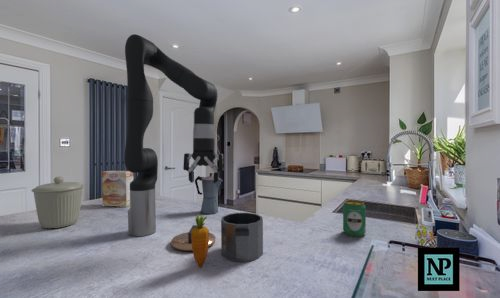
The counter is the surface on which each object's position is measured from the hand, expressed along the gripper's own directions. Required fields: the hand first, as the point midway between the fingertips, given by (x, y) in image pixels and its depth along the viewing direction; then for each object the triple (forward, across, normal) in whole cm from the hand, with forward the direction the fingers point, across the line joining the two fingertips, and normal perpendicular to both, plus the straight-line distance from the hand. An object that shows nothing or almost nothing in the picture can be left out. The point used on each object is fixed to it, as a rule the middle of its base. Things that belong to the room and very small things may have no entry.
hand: (203, 182), depth 91 cm
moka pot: (+22, -8, +37) cm, 43 cm away
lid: (+21, -3, -3) cm, 22 cm away
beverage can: (+20, +56, +12) cm, 61 cm away
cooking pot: (+21, +15, -8) cm, 27 cm away
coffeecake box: (+23, -63, +46) cm, 81 cm away
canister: (+22, -67, +11) cm, 72 cm away
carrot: (+21, +5, -19) cm, 29 cm away
